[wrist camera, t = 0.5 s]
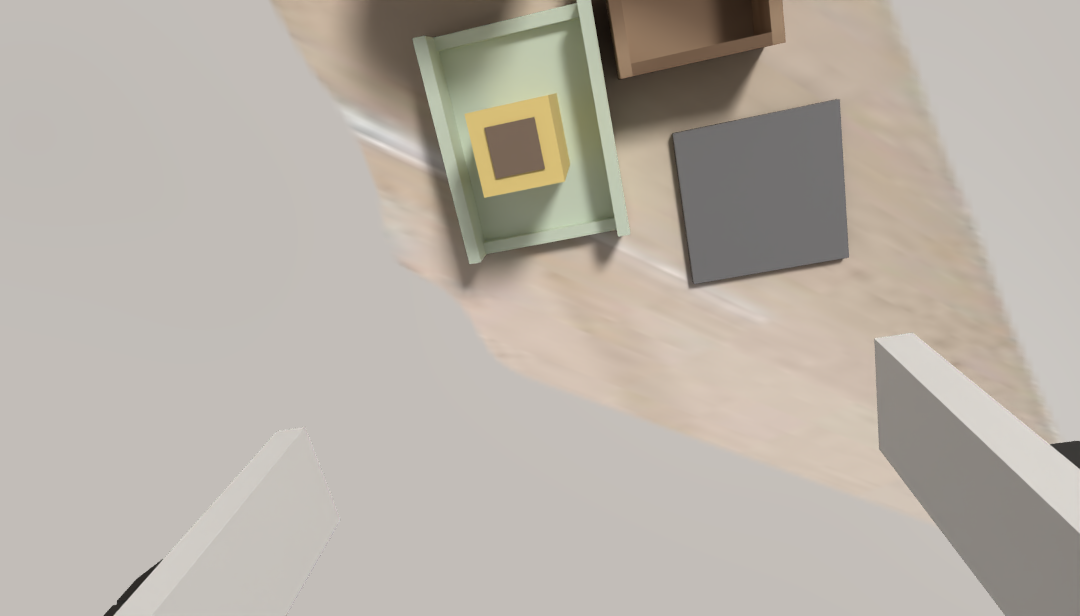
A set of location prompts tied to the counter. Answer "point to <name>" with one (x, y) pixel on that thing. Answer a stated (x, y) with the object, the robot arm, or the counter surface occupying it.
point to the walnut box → (689, 31)
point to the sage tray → (515, 75)
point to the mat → (763, 192)
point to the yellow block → (519, 145)
